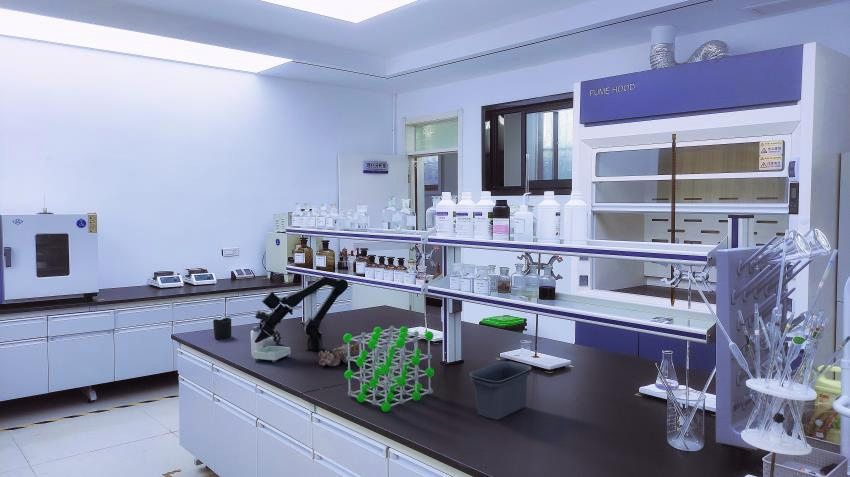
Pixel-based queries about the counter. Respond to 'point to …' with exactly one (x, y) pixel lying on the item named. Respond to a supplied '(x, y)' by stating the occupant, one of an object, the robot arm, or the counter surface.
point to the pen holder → (222, 328)
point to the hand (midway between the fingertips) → (254, 340)
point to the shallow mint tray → (271, 353)
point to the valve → (272, 339)
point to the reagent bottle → (254, 335)
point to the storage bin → (500, 388)
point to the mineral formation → (337, 355)
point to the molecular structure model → (388, 365)
